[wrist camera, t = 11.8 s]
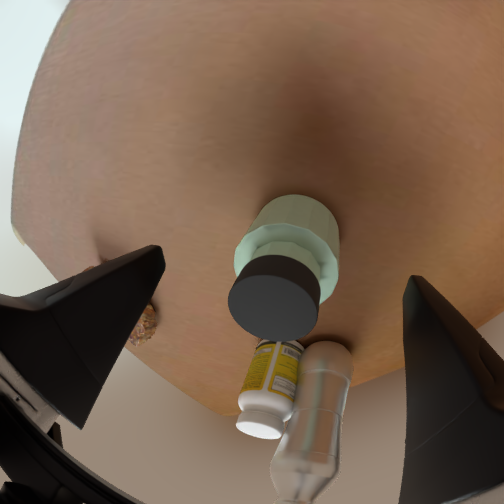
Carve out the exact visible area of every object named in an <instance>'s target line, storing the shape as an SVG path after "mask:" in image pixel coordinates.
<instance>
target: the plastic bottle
mask: <svg viewBox="0 0 504 504" xmlns="http://www.w3.org/2000/svg"><path fill="white" fill-rule="evenodd" d="M352 374H353V361H352V356H351V354H350V353H349V351H348V350H347V349H346V348H345V347H344V346H343V345H341V344H339V343H336V342H332V341H320V342H316V343H313V344H311V345H310V346H308V347H307V348H306V349H305V350H304V351H303V352H302V353H301V356H300V358H299V360H298V368H297V384H296V390H295V397H294V403H293V408H292V411H291V414H290V419H289V421H288V424H287V427H286V430H285V433H284V435H283V437H282V439H281V441H280V444H279V446H278V448H277V450H276V452H275V456H274V457H273V458H272V461H271V463H270V475H271V478H272V481H273V484H274V486H275V489H276V490H277V492H278V500H274V502H273V504H315V502H316V500H317V499H318V498H319V497H320V496H321V495H323V494H324V493H325V492H326V491H327V490H328V489H329V488H330V487H331V486H332V485H333V484H334V483H335V482H336V480H337V478H338V476H339V474H340V469H341V435H342V422H343V412H344V408H345V403H346V398H347V393H348V388H349V385H350V382H351V379H352Z"/></svg>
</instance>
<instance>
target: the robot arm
mask: <svg viewBox="0 0 504 504" xmlns="http://www.w3.org/2000/svg"><path fill="white" fill-rule="evenodd" d="M165 267H166V263H165V259H164V255H163V251H162V248H161V247H160V246H158V245H149V246H146V247H144V248H141V249H138V250H136V251H133V252H131V253H128V254H126V255H123V256H121V257H118V258H116V259H113V260H111V261H108V262H106V263H103V264H101V265H98V266H96V267H94V268H91V269H89V270H86V271H84V272H82V273H79V274H77V275H76V276H72V277H70V278H68V279H65V280H63V281H60V282H58V283H56V284H53V285H51V286H48V287H45V288H43V289H40V290H38V291H35V292H33V293H30V294H27V295H25V296H21V297H11V296H7V295H3V294H0V466H1V468H2V469H3V470H4V472H5V473H6V474H7V475H8V477H9V478H10V479H11V481H12V482H4V484H3V486H2V488H1V490H0V504H83V503H85V504H145V503H143V502H141V501H139V500H137V499H136V498H134V497H132V496H130V495H129V494H127V493H125V492H123V491H122V490H120V489H118V488H117V487H115V486H113V485H112V484H110V483H109V482H107V481H106V480H104V479H103V478H101V477H100V476H98V475H96V474H95V473H94V472H92V471H91V470H90V469H88V468H87V467H85V466H84V465H83V464H81V463H80V462H79V461H78V460H76V459H75V458H74V457H72V456H71V455H70V454H69V453H67V452H66V451H65V450H64V449H63V445H62V438H61V432H60V431H61V430H60V425H59V424H58V423H56V422H55V420H56V419H57V417H58V416H59V415H61V416H63V417H64V418H65V419H66V420H68V421H69V422H70V423H72V424H73V425H74V426H76V427H77V428H78V429H80V430H82V428H83V427H84V425H85V423H86V420H87V418H88V416H89V414H90V412H91V409H92V408H93V406H94V403H95V401H96V399H97V397H98V395H99V393H100V391H101V389H102V386H103V385H104V383H105V381H106V379H107V377H108V375H109V373H110V371H111V369H112V368H113V365H114V364H115V362H116V360H117V358H118V356H119V355H120V353H121V351H122V349H123V347H124V345H125V344H126V342H127V340H128V338H129V336H130V335H131V333H132V331H133V329H134V328H135V326H136V324H137V322H138V321H139V319H140V317H141V315H142V314H143V312H144V310H145V309H146V307H147V305H148V303H149V302H150V300H151V298H152V296H153V294H154V292H155V289H156V287H157V285H158V283H159V281H160V279H161V277H162V275H163V273H164V271H165ZM403 344H404V355H405V370H406V393H407V422H406V439H405V444H406V445H405V458H404V468H403V476H402V484H401V492H400V497H399V503H398V504H504V361H503V359H502V358H501V357H500V356H499V355H498V354H497V353H496V352H495V350H494V349H493V348H492V347H491V346H490V345H489V344H488V343H487V341H486V340H485V339H484V338H482V336H481V335H480V334H479V333H478V331H477V330H476V329H475V328H474V327H473V326H472V325H471V324H470V323H469V322H468V321H467V320H466V319H465V318H464V317H463V316H462V314H461V313H460V312H459V311H458V310H457V309H456V308H455V307H454V306H453V305H452V304H451V303H450V302H449V301H448V300H447V299H446V298H445V297H444V296H442V295H441V294H440V293H439V292H438V291H437V290H436V289H435V288H434V287H433V286H432V285H431V284H430V283H429V282H428V281H427V280H426V279H424V278H423V277H422V276H417V275H411V276H410V278H409V280H408V283H407V286H406V289H405V292H404V295H403Z"/></svg>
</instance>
